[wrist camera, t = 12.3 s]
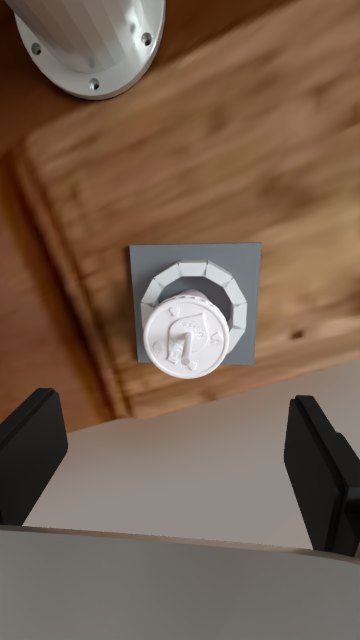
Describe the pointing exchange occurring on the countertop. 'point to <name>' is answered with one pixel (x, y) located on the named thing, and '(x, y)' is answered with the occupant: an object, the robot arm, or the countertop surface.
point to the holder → (200, 287)
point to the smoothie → (186, 335)
